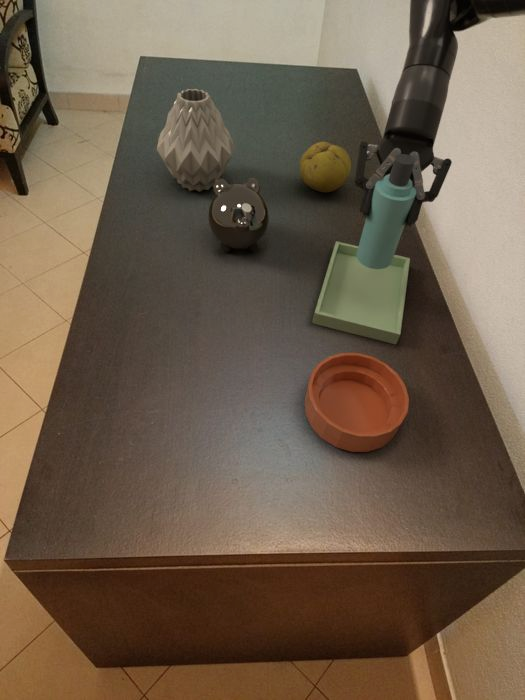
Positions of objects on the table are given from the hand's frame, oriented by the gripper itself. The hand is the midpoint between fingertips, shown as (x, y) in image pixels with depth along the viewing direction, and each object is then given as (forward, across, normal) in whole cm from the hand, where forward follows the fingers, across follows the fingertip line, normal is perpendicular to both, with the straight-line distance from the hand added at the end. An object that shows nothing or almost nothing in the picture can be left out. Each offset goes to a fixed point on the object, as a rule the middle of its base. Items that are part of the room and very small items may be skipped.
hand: (386, 220), depth 71 cm
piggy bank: (+6, -26, +18) cm, 32 cm away
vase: (-6, -41, +30) cm, 51 cm away
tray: (+11, 0, +13) cm, 17 cm away
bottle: (+5, 0, +7) cm, 9 cm away
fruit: (-11, -14, +36) cm, 40 cm away
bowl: (+29, +2, -5) cm, 29 cm away
